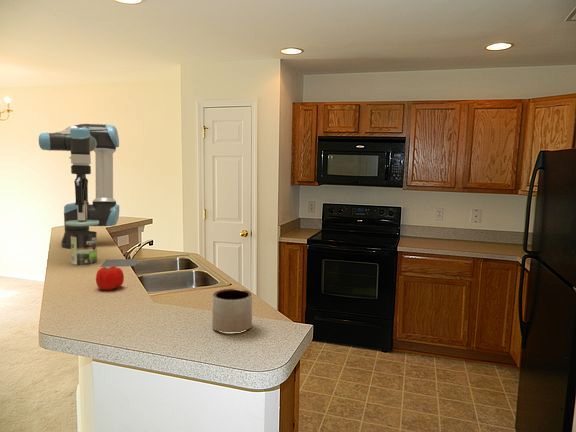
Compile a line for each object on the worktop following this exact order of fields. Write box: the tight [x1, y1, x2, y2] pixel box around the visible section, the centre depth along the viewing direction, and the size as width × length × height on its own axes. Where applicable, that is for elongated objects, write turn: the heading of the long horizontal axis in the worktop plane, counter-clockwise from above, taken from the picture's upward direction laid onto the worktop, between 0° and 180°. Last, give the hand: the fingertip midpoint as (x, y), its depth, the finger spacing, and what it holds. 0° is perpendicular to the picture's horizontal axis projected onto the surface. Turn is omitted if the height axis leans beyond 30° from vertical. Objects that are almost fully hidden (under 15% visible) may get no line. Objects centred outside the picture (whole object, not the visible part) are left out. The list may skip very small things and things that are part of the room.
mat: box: [99, 258, 139, 268], centre depth 185 cm, size 14×14×1 cm
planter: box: [211, 288, 253, 332], centre depth 115 cm, size 11×11×10 cm
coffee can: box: [70, 230, 98, 267], centre depth 182 cm, size 10×10×14 cm
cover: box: [65, 200, 99, 227], centre depth 180 cm, size 13×13×10 cm
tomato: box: [95, 266, 125, 291], centre depth 148 cm, size 9×9×8 cm
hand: (82, 219), depth 180 cm, fingers closed on cover, 3 cm apart
